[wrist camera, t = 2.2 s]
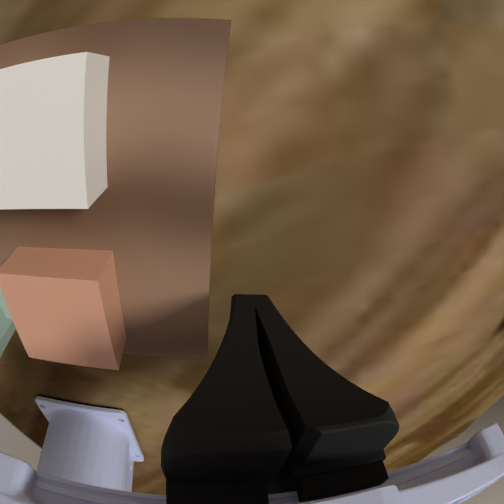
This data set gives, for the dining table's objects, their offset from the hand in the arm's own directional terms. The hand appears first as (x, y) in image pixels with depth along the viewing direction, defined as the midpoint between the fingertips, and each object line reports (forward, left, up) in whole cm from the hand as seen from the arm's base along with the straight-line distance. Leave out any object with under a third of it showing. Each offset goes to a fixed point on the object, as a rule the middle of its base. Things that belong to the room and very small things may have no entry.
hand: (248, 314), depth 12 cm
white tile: (+7, +8, -1) cm, 10 cm away
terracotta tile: (0, +8, -1) cm, 8 cm away
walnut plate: (+3, +7, -3) cm, 8 cm away
